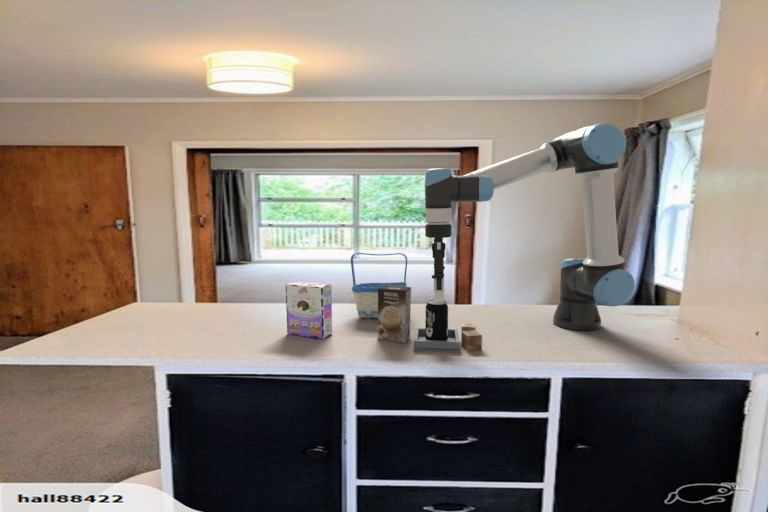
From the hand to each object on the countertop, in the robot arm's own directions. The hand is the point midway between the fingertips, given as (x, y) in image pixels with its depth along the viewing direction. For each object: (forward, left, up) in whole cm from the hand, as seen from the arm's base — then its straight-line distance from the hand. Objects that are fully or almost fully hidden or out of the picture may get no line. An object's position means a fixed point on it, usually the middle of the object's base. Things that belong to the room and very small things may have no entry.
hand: (438, 296), depth 130 cm
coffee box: (+13, -4, -15) cm, 20 cm away
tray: (0, 0, -15) cm, 15 cm away
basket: (+21, -30, -15) cm, 40 cm away
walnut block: (-10, +3, -15) cm, 18 cm away
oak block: (-10, -7, -15) cm, 19 cm away
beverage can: (0, 0, -14) cm, 14 cm away
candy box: (+40, -5, -15) cm, 43 cm away
